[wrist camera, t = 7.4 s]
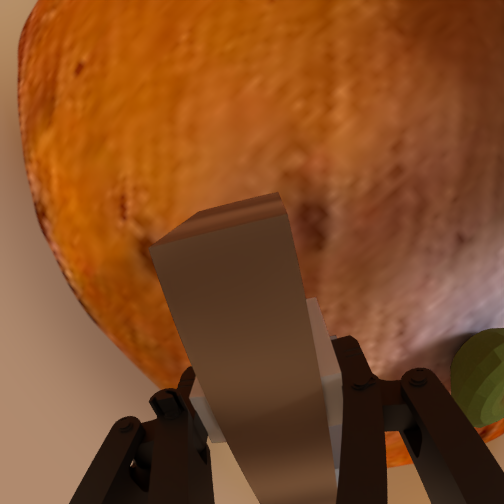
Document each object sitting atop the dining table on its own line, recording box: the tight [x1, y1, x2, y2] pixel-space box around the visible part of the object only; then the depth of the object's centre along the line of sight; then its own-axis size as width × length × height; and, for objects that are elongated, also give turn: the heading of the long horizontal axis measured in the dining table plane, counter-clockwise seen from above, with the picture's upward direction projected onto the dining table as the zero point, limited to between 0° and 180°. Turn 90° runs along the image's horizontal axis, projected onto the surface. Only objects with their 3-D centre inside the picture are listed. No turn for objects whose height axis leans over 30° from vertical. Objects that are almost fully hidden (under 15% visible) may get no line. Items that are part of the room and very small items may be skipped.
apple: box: [450, 328, 504, 428], centre depth 23 cm, size 11×10×10 cm
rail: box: [149, 192, 337, 504], centre depth 14 cm, size 18×4×7 cm, turn 14°
